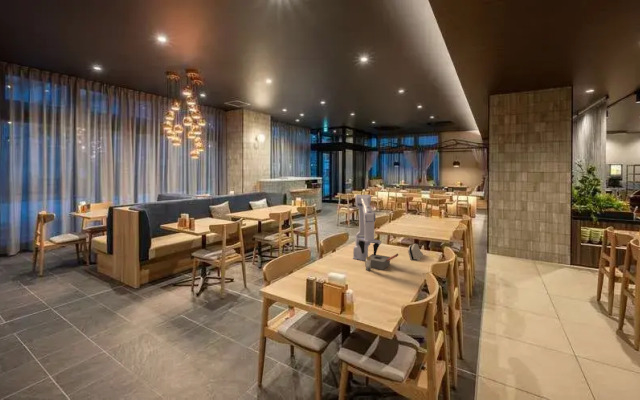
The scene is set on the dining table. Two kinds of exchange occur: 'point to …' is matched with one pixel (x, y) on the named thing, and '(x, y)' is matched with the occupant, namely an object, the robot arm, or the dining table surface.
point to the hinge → (414, 252)
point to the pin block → (379, 261)
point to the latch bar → (392, 257)
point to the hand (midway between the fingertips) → (368, 254)
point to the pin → (368, 263)
